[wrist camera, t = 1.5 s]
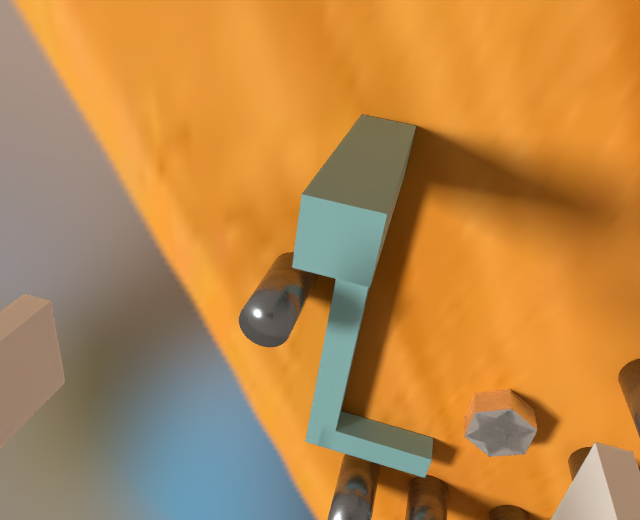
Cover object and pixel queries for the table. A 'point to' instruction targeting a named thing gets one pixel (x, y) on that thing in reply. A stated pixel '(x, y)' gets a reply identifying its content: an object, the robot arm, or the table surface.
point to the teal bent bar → (354, 281)
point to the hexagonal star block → (500, 423)
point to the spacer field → (357, 474)
